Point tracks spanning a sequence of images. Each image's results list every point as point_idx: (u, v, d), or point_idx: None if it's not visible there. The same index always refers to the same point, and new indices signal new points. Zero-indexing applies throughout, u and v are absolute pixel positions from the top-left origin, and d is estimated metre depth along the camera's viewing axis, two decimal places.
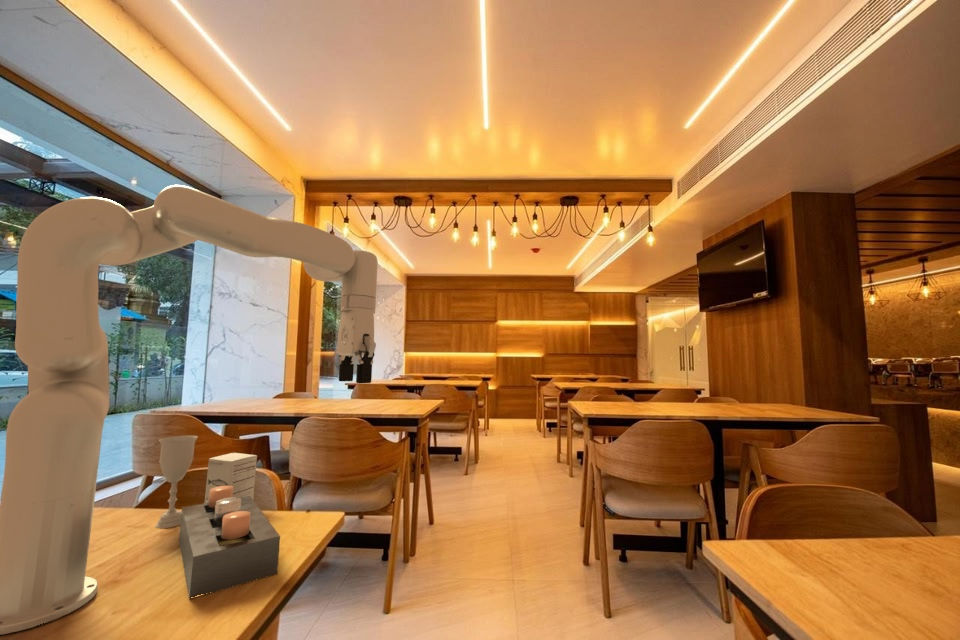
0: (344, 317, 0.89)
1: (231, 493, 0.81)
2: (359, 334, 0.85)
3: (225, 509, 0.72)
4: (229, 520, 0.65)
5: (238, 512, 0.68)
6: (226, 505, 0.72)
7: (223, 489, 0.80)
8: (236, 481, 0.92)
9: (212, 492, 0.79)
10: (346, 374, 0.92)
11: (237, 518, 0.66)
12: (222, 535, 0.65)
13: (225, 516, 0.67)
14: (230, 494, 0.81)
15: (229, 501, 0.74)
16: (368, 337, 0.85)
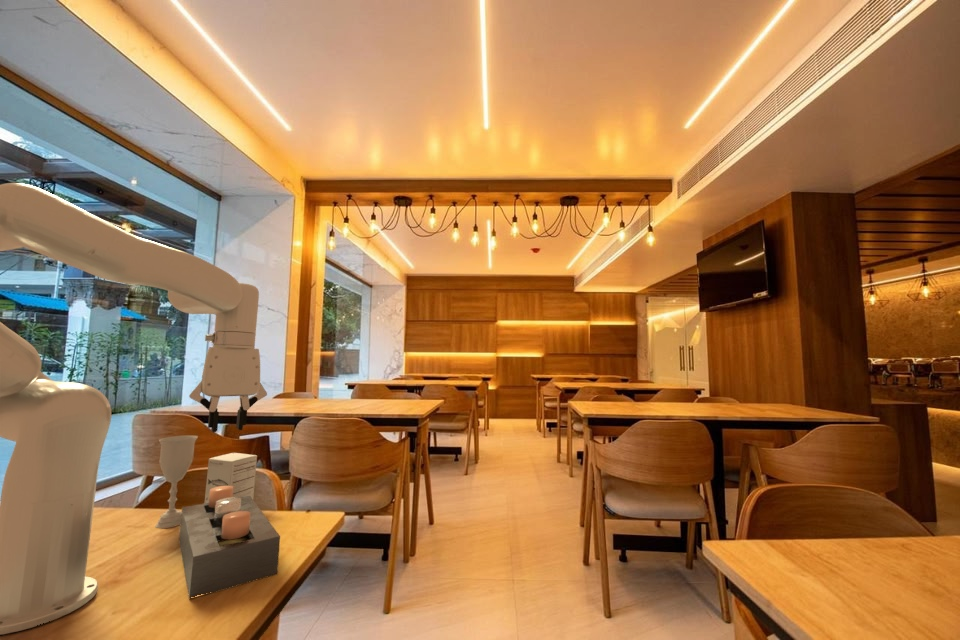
0: (230, 354, 0.81)
1: (231, 493, 0.81)
2: None
3: (225, 509, 0.72)
4: (229, 520, 0.65)
5: (238, 512, 0.68)
6: (226, 505, 0.72)
7: (223, 489, 0.80)
8: (236, 481, 0.92)
9: (212, 492, 0.79)
10: None
11: (237, 518, 0.66)
12: (222, 535, 0.65)
13: (225, 516, 0.67)
14: (230, 494, 0.81)
15: (229, 501, 0.74)
16: (259, 382, 0.87)
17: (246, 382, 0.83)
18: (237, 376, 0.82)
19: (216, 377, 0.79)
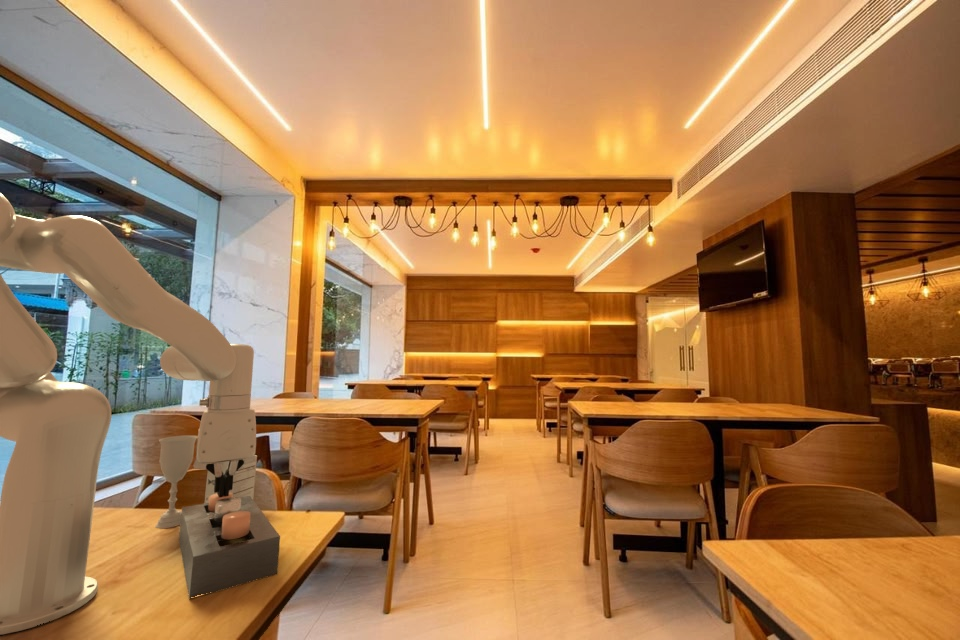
0: (224, 419, 0.80)
1: None
2: (255, 435, 0.84)
3: (225, 509, 0.72)
4: (229, 520, 0.65)
5: (238, 512, 0.68)
6: (226, 505, 0.72)
7: (222, 496, 0.80)
8: (236, 481, 0.92)
9: (211, 500, 0.79)
10: None
11: (237, 518, 0.66)
12: (222, 535, 0.65)
13: (225, 516, 0.67)
14: None
15: (229, 501, 0.74)
16: None
17: (242, 446, 0.81)
18: (232, 440, 0.80)
19: (211, 444, 0.78)
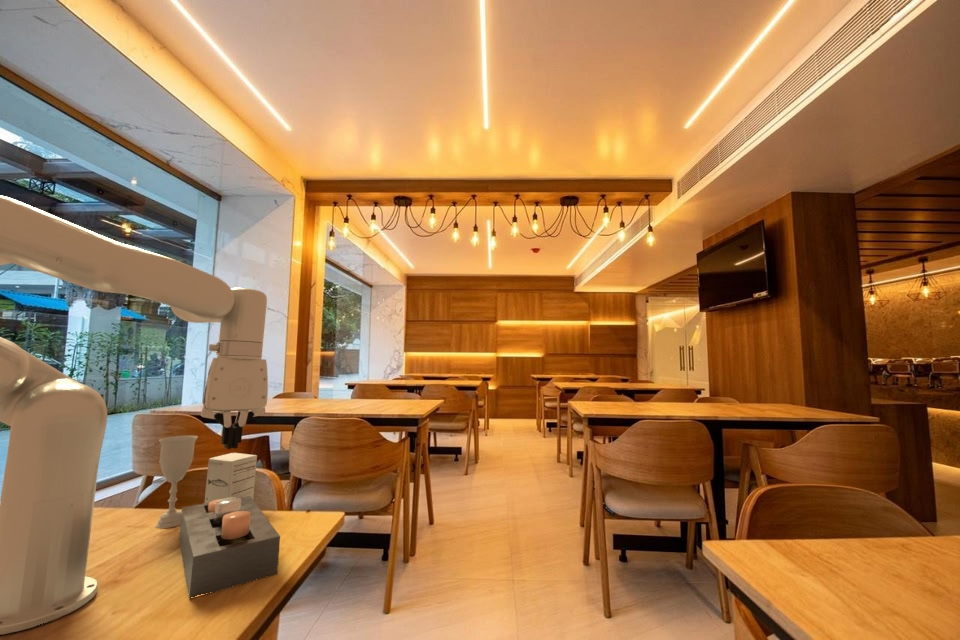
0: (236, 365, 0.75)
1: None
2: None
3: (225, 509, 0.72)
4: (229, 520, 0.65)
5: (238, 512, 0.68)
6: (226, 505, 0.72)
7: None
8: (236, 481, 0.92)
9: (210, 506, 0.79)
10: None
11: (237, 518, 0.66)
12: (222, 535, 0.65)
13: (225, 516, 0.67)
14: None
15: (229, 501, 0.74)
16: None
17: (253, 395, 0.77)
18: (244, 389, 0.76)
19: (221, 390, 0.73)
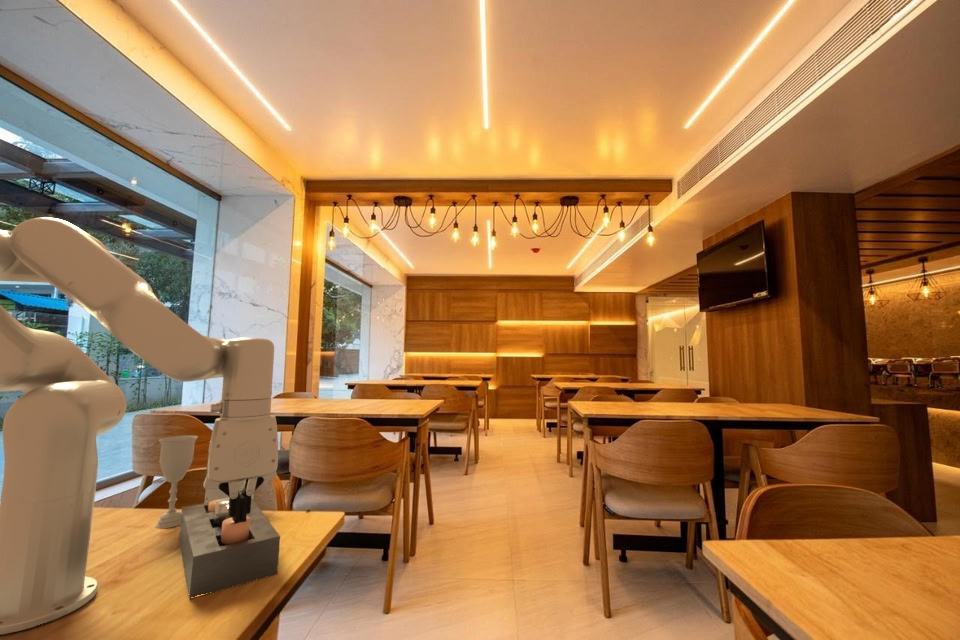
0: (241, 428, 0.66)
1: None
2: None
3: (225, 509, 0.72)
4: (229, 525, 0.65)
5: None
6: (226, 505, 0.72)
7: None
8: None
9: (210, 506, 0.79)
10: None
11: (236, 523, 0.66)
12: (222, 540, 0.65)
13: (225, 521, 0.66)
14: None
15: None
16: None
17: (261, 460, 0.68)
18: (250, 454, 0.67)
19: (225, 458, 0.64)
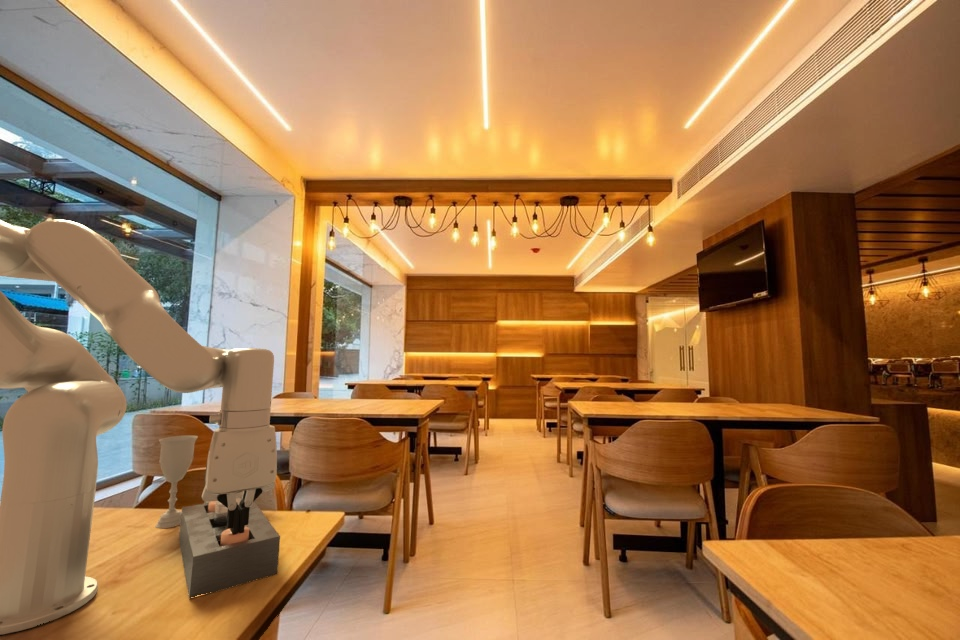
0: (240, 439, 0.66)
1: None
2: (276, 458, 0.70)
3: (225, 509, 0.72)
4: (228, 537, 0.65)
5: None
6: None
7: None
8: None
9: (210, 506, 0.79)
10: None
11: (236, 534, 0.66)
12: None
13: (224, 532, 0.66)
14: None
15: None
16: None
17: (260, 471, 0.67)
18: (249, 465, 0.66)
19: (224, 470, 0.64)
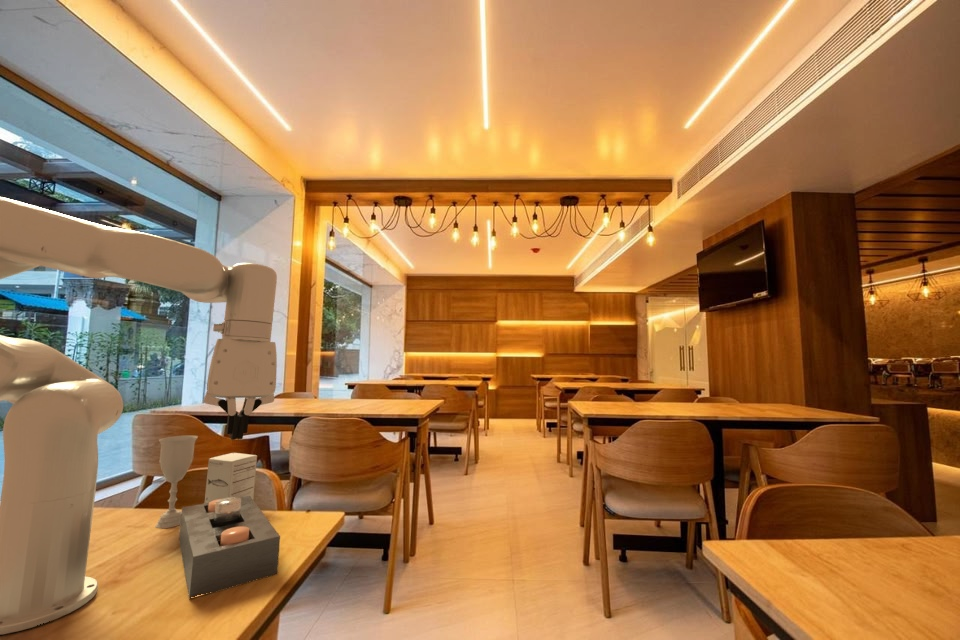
0: (241, 348, 0.68)
1: None
2: None
3: (225, 509, 0.72)
4: (228, 537, 0.65)
5: (236, 528, 0.68)
6: (226, 505, 0.72)
7: None
8: (236, 481, 0.92)
9: (210, 506, 0.79)
10: None
11: (236, 534, 0.66)
12: None
13: (224, 532, 0.66)
14: None
15: (229, 501, 0.74)
16: None
17: (260, 381, 0.70)
18: (249, 374, 0.69)
19: (225, 374, 0.67)
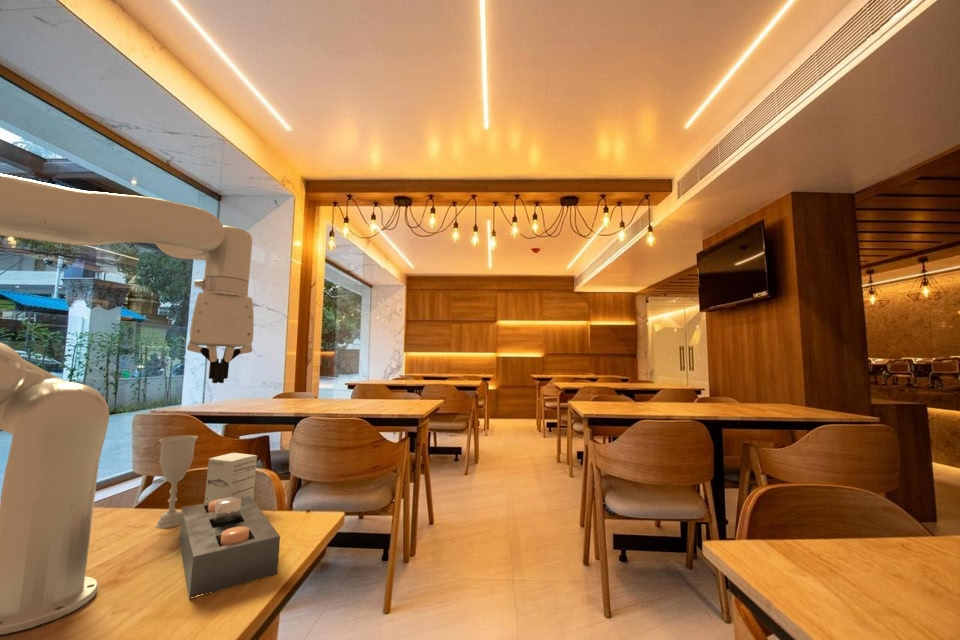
0: (221, 301, 0.76)
1: None
2: None
3: (225, 509, 0.72)
4: (228, 537, 0.65)
5: (236, 528, 0.68)
6: (226, 505, 0.72)
7: None
8: (236, 481, 0.92)
9: (210, 506, 0.79)
10: None
11: (236, 534, 0.66)
12: None
13: (224, 532, 0.66)
14: None
15: (229, 501, 0.74)
16: None
17: (238, 332, 0.78)
18: (228, 325, 0.77)
19: (206, 324, 0.74)
